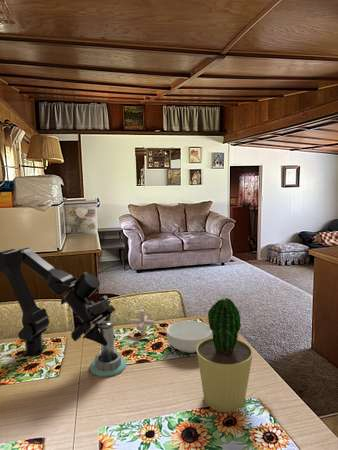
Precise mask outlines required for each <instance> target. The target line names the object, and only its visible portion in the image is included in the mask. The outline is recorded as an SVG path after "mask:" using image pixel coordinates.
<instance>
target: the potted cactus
mask: <svg viewBox="0 0 338 450" xmlns="http://www.w3.org/2000/svg"><path fill="white" fill-rule="evenodd" d="M207 313H208V314H207V321H206V322H207V323H205V324H206V325H209V328H210V329H211V330H212V332H211V333H213V335H212V337H211V338H208V339H205V340H203V341H201V342H200V343H199V344H198V345H197V348H196V350H197V351H196V354H197V355H196V356H197V362H198V366H199V367H198V368H199V374H200V380H201V386H202V392H203V393H202V394H203V399H204V402H205V404H206V406H208V407H210V408H211V409H213V410H214V411H217V412H222V413H232V412H231V411H233V412H236V411H238V410H237V409H239V408H240V409H241V408H243V406H244V405H243V404H245V401H246V396H247V395H246V394H247V389H248V384H249V377H250V371H251V366H252V360H253V354H254V351H253V349H252V346H251V345H249V344H248V343H247V342H246V341H243V340H241V339H240V338H239V335H240V336H242V335H241V334H242V332H243V331H242V330H241V326H243V324H242V323H241V322H242V321H241V319H242V316H241V315H242V312H241V310H239V308H238V306H237V304H235V303H234V298H231V299H230V297H222V298H221V299H219V300H217V301H214V304H212V302H210V306H209V310H208V311H207ZM240 409H239V410H240ZM235 410H236V411H235Z"/></svg>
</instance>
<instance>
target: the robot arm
mask: <svg viewBox="0 0 338 450" xmlns="http://www.w3.org/2000/svg"><path fill="white" fill-rule="evenodd" d="M23 263H24V264H25V265H26V266H27V267H28V268H30V269H31V271H33V272H35V273H36V274H37V275H38V276H40V277H42V279H44V280H45V282H46V284H47V287H48V288H49V289H50V290H51V292H52V293H53V294H55V295H57V296H59V295H61V296H60V297H61V300H60V304H61V305H64V304H67V305H68V306H69V307H70V309H71V310H72V311H73V312H74V315H73V317H74V318H75V319H76V318H77V317H78V318H79V320H80V321H81V323H80V324H79V325H77V327H76V328H75V329H73V331H71V334H70V335H71V336H70V338H71V339H72V340H73V341H74V342H76V341H77V342H78V340H79V339H81V338H82V339H87V340H90V341H92V342H95V343H98V344H99V345H100V344H102V345H104V346H106V345H108V343H107V341H106V340H105V338H104V337H103V336H102V334H101V333H100V327H99V323H100V322H102V321H111V317H112V314H113V312H115V310H116V308H115V307H114V306H113V305H111V299H110V298H109V297H108V296H107V295H103V296H102V297H99V301H96V302H94V301H93V300H90V301H89V300H88V299H87V298H90V296H92V295H93V294H94V293H95V292H96V291H97V290H98V289H99V287H100V286H101V283H100V280H99V278H98V277H97V276H95V275H93V274H90V273H88V272H87V271H85V272H83V273H82V274H80V276H79V278H78V277H74V276H73V275H72V274H70V273H68V272H66V271H65V270H61V269H57V268H55V267H54V266H53V265H52V264H50V263H49V262H47V261H46V260H44V259H43V258H42V257H41V256H40V255H38V254H37V253H36V252H34V251H33V248H31V247H23V248H20V249H18V250H17V249H15V248H10V249H6V250H2V251H0V272H1V274H3V275H5V276H6V278H7V280H8V282H9V284H10V286H11V288H12V291H13V293H14V295H15V297H16V300H17V302H18V304H19V306H20V309H21V311H22V318H21V324H22V327H23V328H21V330H20V331H18V334H17V336H18V339H19V340H22V341H24V343H25V350H24V351H23V352H22V356H37V355H42V354H43V352H44V350H45V348H46V344H43V336H42V335H43V334H44V332H46V331H47V328H48V327H49V324H50V319H49V318H50V316H49V315H48V313H47V311H46V309H45V308H44V307H43V308H41V307H38V305H37V304H36V301H35V299H34V297H33V293H32V292H31V290H30V287H29V286H28V283H27V281H26V279H25V276H24V274H23V271H22V266H23V265H22V264H23ZM65 293H66V294H65ZM82 335H83V336H82ZM115 338H116V336H115V334H114V339H115Z"/></svg>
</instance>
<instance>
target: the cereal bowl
mask: <svg viewBox="0 0 338 450" xmlns="http://www.w3.org/2000/svg"><path fill="white" fill-rule="evenodd" d="M206 324H207V323H205V322H202V321H197V320H181V321H176V322H173V323H172V324H170V325H168V326H167V328H166V330H165V331H166V339H167V341H168V343H169V344H170V346H171V347H173V348H175V349H177V350H178V351H181V352H184V353H189V354H191V353H197V350H196V348H197V345H198V344H199V343H200V342H201V341H203V340H205V339H208V338H211V337H213V336H212V335H213V333H211V332H212V330H211V329H210V328H209V324H207V325H206Z"/></svg>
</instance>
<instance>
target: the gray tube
mask: <svg viewBox="0 0 338 450" xmlns="http://www.w3.org/2000/svg"><path fill="white" fill-rule="evenodd" d="M98 325H99V327H100V329H99V332H100V333H101V334H102V336H103V337H104V338H105V340H106V341H107V343H108V345H106V346H104V345H102V344H100V343H99V345H100V353H101V362H104V363H105V362H112V361H114V360H115V357H114V351H115V338H114V335H115V332H114V326H115V322H114V321H112V320H110V321H102V322H100V323H99V324H98Z"/></svg>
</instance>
